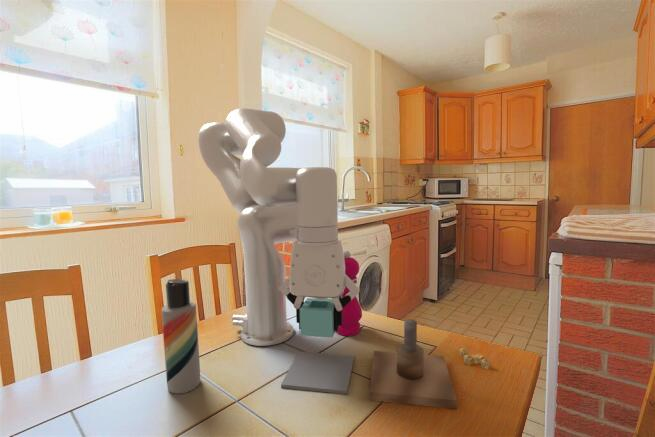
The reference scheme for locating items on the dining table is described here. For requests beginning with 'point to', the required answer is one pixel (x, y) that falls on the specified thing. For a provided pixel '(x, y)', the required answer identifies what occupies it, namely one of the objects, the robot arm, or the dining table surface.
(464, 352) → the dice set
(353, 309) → the pepper mill
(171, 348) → the lotion bottle
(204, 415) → the dining table surface
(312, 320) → the collar
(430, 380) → the stand
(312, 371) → the mat
